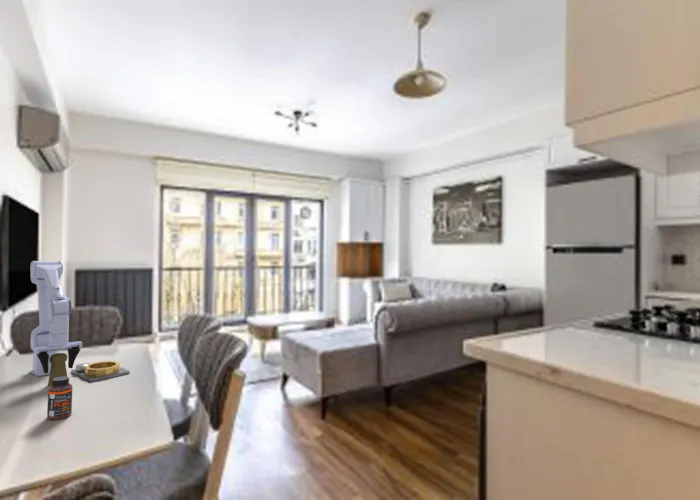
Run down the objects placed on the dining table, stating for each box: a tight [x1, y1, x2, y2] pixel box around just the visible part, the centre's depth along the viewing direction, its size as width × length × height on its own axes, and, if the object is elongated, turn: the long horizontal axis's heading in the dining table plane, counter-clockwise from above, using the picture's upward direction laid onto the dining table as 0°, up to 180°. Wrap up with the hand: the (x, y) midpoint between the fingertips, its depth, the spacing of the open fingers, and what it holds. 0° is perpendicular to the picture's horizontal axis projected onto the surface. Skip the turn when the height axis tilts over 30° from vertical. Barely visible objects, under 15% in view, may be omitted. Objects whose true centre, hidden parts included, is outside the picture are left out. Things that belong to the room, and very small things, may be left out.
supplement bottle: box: [46, 376, 73, 420], centre depth 120 cm, size 6×6×11 cm
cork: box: [47, 352, 68, 387], centre depth 147 cm, size 6×6×11 cm
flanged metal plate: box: [70, 360, 131, 383], centre depth 160 cm, size 18×14×4 cm
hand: (58, 370), depth 147 cm, fingers open, 7 cm apart
